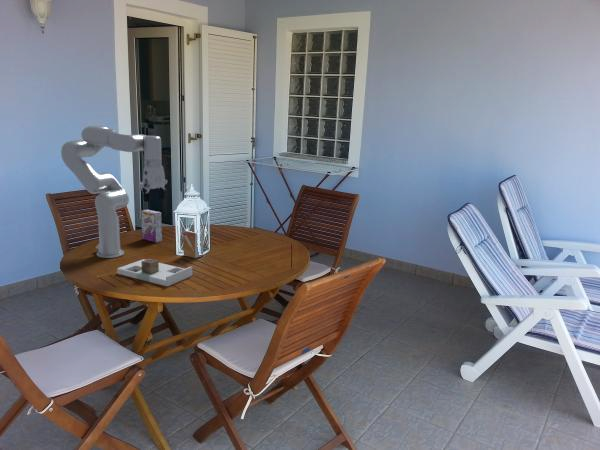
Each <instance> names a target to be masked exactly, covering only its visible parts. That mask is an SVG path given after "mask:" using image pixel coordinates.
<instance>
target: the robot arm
mask: <svg viewBox="0 0 600 450" xmlns="http://www.w3.org/2000/svg"><path fill="white" fill-rule="evenodd" d="M81 138H82V139H75V140H74V139H73V140H70V141H67V142H65V143H63V145H62V147H61V150H60V152H61V154H60V156H61V159H62V161H63V163H64V165H65V166H66V167H67V168H68V169H69V170H70V171H71V173H73V174H74V176H75V177H76V179H78V181H79V182H80V183H81V184H82V186H83V187H84V188H85V190H86V191H87V192H88V193H89V194H92V195H96V194H98V195H96V197H95V200H94V207H95V210H96V214H97V223H98V224H97V226H98V238H99V241H98V244H97V245H96V246H95V248H96V249H98V251H97V252H96V256H97V257H98V258H103V259H114V258H118V257H121V256H123V255H124V254H125V251H124V250H123V249H121V237H120V236H121V235H120V234H121V233H120V232H121V231H120V217H119V215H118V214H117V210H119V209H122V208H125V207H127V205H129V202H130V198H129V194H128V193H127V191H126V190H125V188H124V187H123V186H122V184H120V182H119V181H118V179H116V177H115V176H114V175H113V174H111V173H109V172H97V171H96V170H95V169H94V168H93V166H91V164H90V163H88V162H87V161H86V160H84V159H83V158H91V157H94V156H96V155H97V154H98V153H99V152H100V151H101V150H102V149H103V148H105V147H107V148H110V149H112V150H115V151H121V152H128V153H133V152H143V154H144V155H143V156H144V159H143V160H144V161H143V165H144V166H143V171H142V172H143V173H142V181H141V182H140V183H139V184H138V186H139V188H140V190H141V192H142V196H143V202H147V203H149V202H150V200H151V199H150V195H151V194H150V190H155V189H158V193H157V194H158V198H159V199H163V200H164V199H165V190H166V187H167V184H168V179H166V178H165V177H166V176H165V170H164V169H165V168H164V166H163V165H162V162H163V161H162V159H163V158H162V138H161V137H160V136H158V135H146V134H142V133H141V134H140V133H139V134H123V133H118V131H116V130H115V129H113V128H108V127H107V126H106V125H90V126H86V127H84V128H83V129H82V131H81Z"/></svg>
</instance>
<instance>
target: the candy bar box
mask: <svg viewBox="0 0 600 450" xmlns="http://www.w3.org/2000/svg"><path fill="white" fill-rule="evenodd" d="M140 211H141V214H140V215H141V216H140V217H141V237H142V238H141V239H142V240H145V241H148V242H153V243H160V242H163V223H162V212H160V211H155V210H151V209H143V210H140Z"/></svg>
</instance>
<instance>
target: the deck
mask: <svg viewBox="0 0 600 450" xmlns="http://www.w3.org/2000/svg"><path fill="white" fill-rule="evenodd" d="M144 260H146V259H144V258H143V259H140V260H137V261H134V262H131V263H129V264H126V265H123V266H120V267H118V268H117V271H116V272H117V274H118V275H121V276H124V277H129V278H133V279H136V280H137V279H138V280H139V281H140V280H141V281H144V282H149V283H152V284H157V285H160V286H163V287H170V286H172V285H175V284H176V283H179V282H182V281H184V280H185V279H188V278H190V277H192V276H193V266H188V267H186V268H184V267H178V266H176V265H170V264H168V263H167V264H166V263H162V262H158V263H159V271H158V272H156V273H153V274H147V273H143V272H142V263H141V261H144Z"/></svg>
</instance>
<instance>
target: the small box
mask: <svg viewBox="0 0 600 450" xmlns="http://www.w3.org/2000/svg"><path fill="white" fill-rule="evenodd" d="M183 231H184V230H183ZM182 239H183V240H182V243H183V244H182V247H183V248H182V249H183V251H182V252H184V255H183V256H185V257H190V258H193V259H197V258H200V257H201V256H200V255H199V252H198V247H197V245H198V244H197V234H196V233H195V232H192V231H184V233H183V232H182ZM200 241H201V243H200V246H201V254H202V256H204V230H201V236H200ZM199 256H200V257H199Z"/></svg>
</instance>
